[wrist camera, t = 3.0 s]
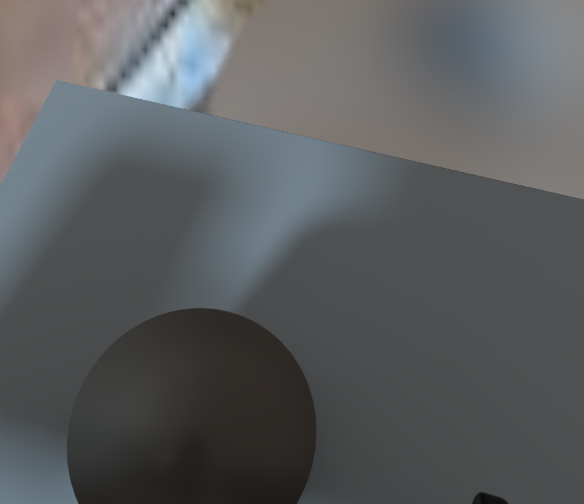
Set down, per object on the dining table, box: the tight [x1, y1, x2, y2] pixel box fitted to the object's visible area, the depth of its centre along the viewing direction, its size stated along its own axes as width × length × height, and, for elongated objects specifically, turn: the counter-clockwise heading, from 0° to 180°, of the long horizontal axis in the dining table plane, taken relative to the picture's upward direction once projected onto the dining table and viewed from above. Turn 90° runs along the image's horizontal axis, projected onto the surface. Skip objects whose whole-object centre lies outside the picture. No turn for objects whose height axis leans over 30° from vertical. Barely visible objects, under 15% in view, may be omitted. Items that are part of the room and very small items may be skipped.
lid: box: [0, 80, 584, 504], centre depth 11 cm, size 16×16×6 cm
